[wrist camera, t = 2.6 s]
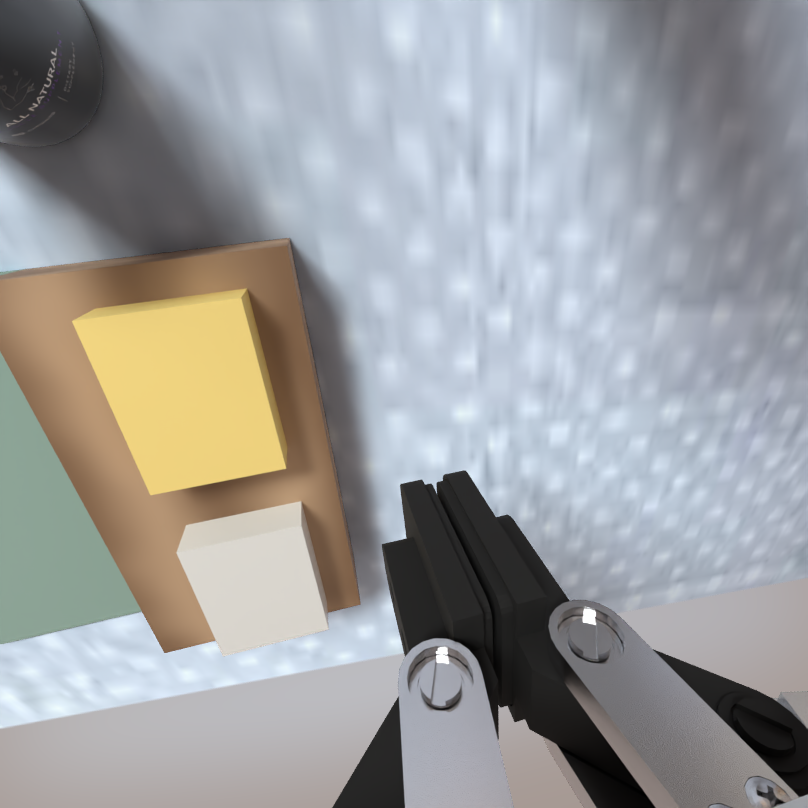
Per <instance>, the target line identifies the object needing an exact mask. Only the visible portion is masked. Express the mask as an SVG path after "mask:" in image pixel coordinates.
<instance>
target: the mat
mask: <svg viewBox="0 0 808 808" xmlns="http://www.w3.org/2000/svg"><path fill="white" fill-rule="evenodd" d="M23 270H24V269H23ZM16 271H20V270H15V271H7V272H0V275H4V274H8V273H12V272H16ZM137 612H141V609H140V607H139V605H138V603H137V601H136V600H135V598H134V596H133V594H132V592H131V590H130V589H129V587H128V585H127V583H126V581H125V579H124V578H123V576H122V574H121V572H120V570H119V568H118V567H117V565H116V563H115V561H114V559H113V557H112V556H111V554H110V552H109V550H108V548H107V546H106V545H105V543H104V541H103V539H102V537H101V535H100V534H99V532H98V530H97V528H96V526H95V524H94V523H93V521H92V519H91V517H90V515H89V513H88V512H87V510H86V508H85V506H84V504H83V502H82V501H81V499H80V497H79V495H78V493H77V491H76V490H75V488H74V486H73V484H72V482H71V480H70V479H69V477H68V475H67V473H66V471H65V469H64V468H63V466H62V464H61V462H60V460H59V458H58V457H57V455H56V453H55V451H54V449H53V447H52V446H51V444H50V442H49V440H48V438H47V436H46V434H45V433H44V431H43V429H42V427H41V425H40V423H39V422H38V420H37V418H36V416H35V414H34V412H33V411H32V409H31V407H30V405H29V403H28V401H27V400H26V398H25V396H24V394H23V392H22V390H21V389H20V387H19V385H18V383H17V381H16V379H15V378H14V376H13V374H12V372H11V370H10V368H9V367H8V365H7V363H6V361H5V359H4V357H3V356H2V354H1V352H0V644H4V643H9V642H13V641H17V640H21V639H26V638H30V637H34V636H39V635H43V634H47V633H51V632H56V631H60V630H64V629H69V628H73V627H77V626H81V625H86V624H90V623H94V622H99V621H103V620H107V619H111V618H116V617H120V616H124V615H128V614H133V613H137Z"/></svg>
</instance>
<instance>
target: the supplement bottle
mask: <svg viewBox="0 0 808 808" xmlns="http://www.w3.org/2000/svg"><path fill="white" fill-rule="evenodd" d="M102 87H103V66H102V58H101V53H100V49H99V45H98V42H97V38H96V36H95V33H94V30H93V28H92V25H91V23H90V21H89V19H88V17H87V15H86V13H85V11H84V9H83V7H82V6H81V4H80V2H79V1H78V0H0V142H1V143H6V144H12V145H18V146H30V147H37V146H48V145H53V144H57V143H60V142H63V141H65V140H67V139H69V138H71V137H73V136H74V135H76V134H77V133H79V132H80V131H81V130H82V129H83V128H84V127H85V126H86V125H87V124H88V123H89V121H90V120H91V119H92V117H93V115H94V114H95V112H96V109H97V107H98V105H99V102H100V98H101V94H102Z"/></svg>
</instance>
